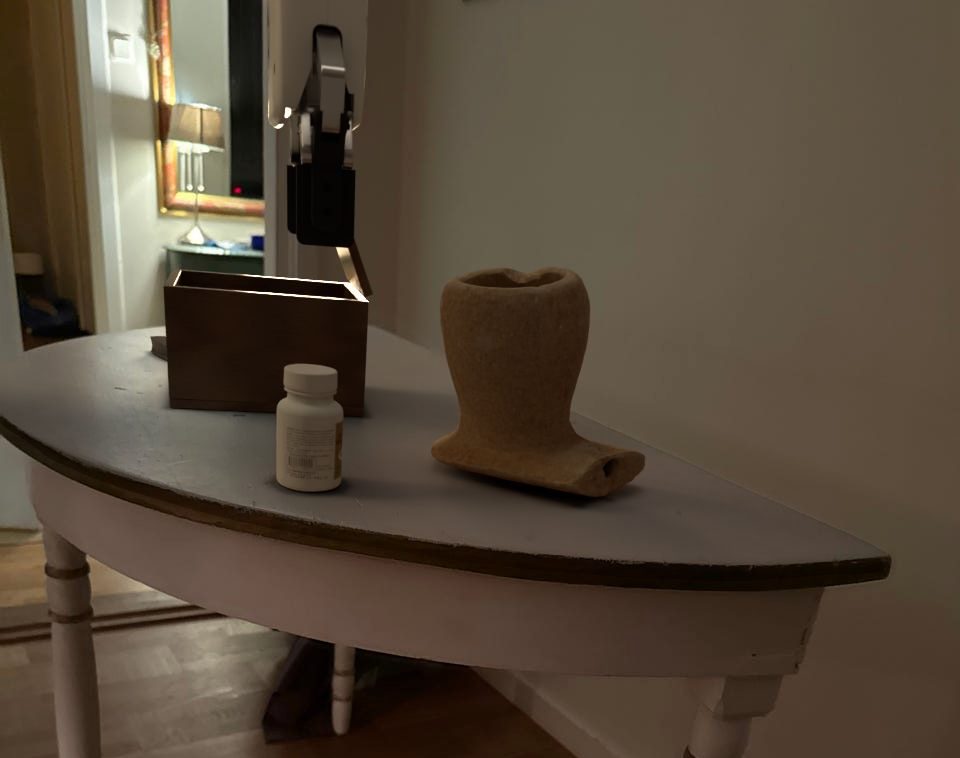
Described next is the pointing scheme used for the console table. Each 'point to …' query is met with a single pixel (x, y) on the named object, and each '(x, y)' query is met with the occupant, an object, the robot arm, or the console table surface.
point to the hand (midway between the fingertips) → (318, 240)
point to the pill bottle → (309, 430)
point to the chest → (260, 338)
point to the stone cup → (523, 382)
